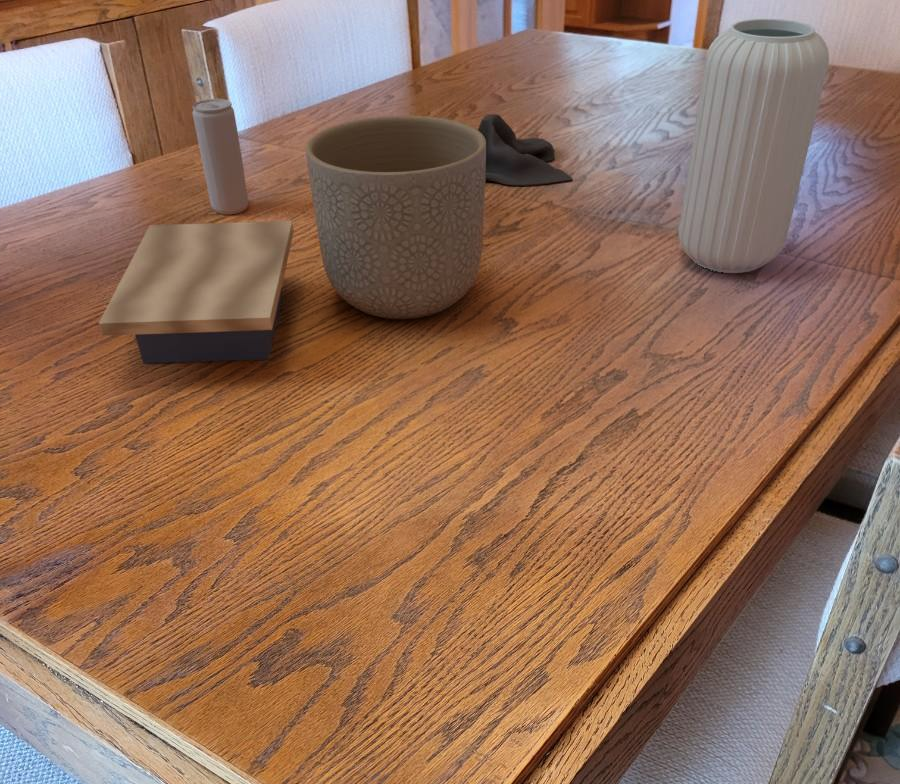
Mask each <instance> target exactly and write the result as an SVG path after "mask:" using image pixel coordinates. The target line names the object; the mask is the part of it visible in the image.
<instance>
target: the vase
mask: <svg viewBox="0 0 900 784" xmlns="http://www.w3.org/2000/svg"><path fill="white" fill-rule="evenodd" d="M829 63H830V53H829V48H828V45H827V43H826V41H825V40H824V38H823V37H822V35H820V34H819V33H818V32H816V29H815V27H814V26H812V25H811V24H808V23H804V22H801V21H798V20H789V19H780V18H756V19H755V18H754V19H753V18H752V19H746V20H745V19H744V20H740V21H737V22H734V23H733V24H731V25H730V27H729V28H727V29H725V30H724V31H722V32H721V33H719V34H718V36H716V37H715V38H714V40H713V41H712V42H711V44H710V45H709V47H708V48H707V52H706V55H705V58H704V64H703V70H702V76H701V77H702V78H701V84H700V90H699V96H698V104H697V110H696V116H695V122H694V129H693V134H692V142H691V148H690V154H689V160H688V167H687V173H686V179H685V185H684V186H685V187H684V193H683V201H682V204H681V211H680V219H679V224H678V231H677V236H678V237H677V238H678V242H679V245H680V247H681V249H682V251H683V252H684V253H685V254H686V256H688V258H690V259H691V260H692V261H693V262H694V263H695V264H696V263H697V264H696V265H698V266H699V265H700V266H699V267H701V266H702V267H701V268H703V267H704V269H705V268H708V269H710V270H709V271H712V270H713V271H712V272H716V271H717V273H721V272H723V273H722V274H743V273H749V272H752V271H755V270H757V269H760V268H761V267H763V266H765V265H767V264H769V263H770V262H772V261H773V260H774V259H776V258H777V257H778V256H779V254H780V253H781V252H782V250H783V249H784V247H785V245H786V242H787V239H788V234H789V230H790V226H791V223H792V218H793V215H794V210H795V206H796V201H797V197H798V193H799V189H800V186H801V185H800V184H801V180H802V177H803V172H804V168H805V165H806V164H805V163H806V160H807V156H808V151H809V147H810V143H811V139H812V135H813V131H814V127H815V123H816V119H817V114H818V110H819V106H820V102H821V97H822V93H823V89H824V84H825V81H826V76H827V73H828V68H829ZM708 269H707V270H708Z"/></svg>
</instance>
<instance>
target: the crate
mask: <svg viewBox="0 0 900 784" xmlns="http://www.w3.org/2000/svg"><path fill="white" fill-rule="evenodd" d="M283 296H284V291H283V287H282V288H281V292H280V297H279V301H278V306H277V310H276V315H275V319H274V324H273V328H272V330H252V331H223V332H194V333H166V334H137V335H134V336H135V339H136V343H137V347H138V351H139V353H140V357H141V361H142V364H167V363H168V364H169V363H171V364H172V363H197V362H199V363H200V362H201V363H202V362H225V361H226V362H227V361H229V362H230V361H251V360H252V361H254V360H257V361H258V360H269V359H270V357H271V351H272V348H273V347H272V346H273V342H274V338H275V333H276V328H277V324H278V320H279V315H280V309H281V305H282V301H283Z"/></svg>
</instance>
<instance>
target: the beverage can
mask: <svg viewBox="0 0 900 784" xmlns="http://www.w3.org/2000/svg"><path fill="white" fill-rule="evenodd" d="M192 109H193V111H192V118H193V122H194V128H195V133H196V138H197V144H198V147H199V153H200V157H201V163H202V168H203V173H204V178H205V184H206V189H207V193H208V198H209V204H210V206H211V209H212V210H213V211H214V212H215V213H217V214H218V215H225V216H227V215H237V214H241V213H243V212H245V211H246V210H247V208H248V207H249V204H250V201H249V196H248V190H247V183H246V176H245V169H244V162H243V157H242V149H241V144H240V138H239V132H238V127H237V120H236V114H235V110H234V107H233V106H232V102H231V101H230V100H228V99H223V98H210V99H203V100H199V101H197V102H195V103H193V104H192Z"/></svg>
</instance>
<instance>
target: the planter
mask: <svg viewBox="0 0 900 784" xmlns="http://www.w3.org/2000/svg"><path fill="white" fill-rule="evenodd" d="M305 157H306V165H307V170H308V171H307V172H308V177H309V178H308V179H309V187H310V192H311V198H312V205H313V210H314V217H315V224H316V230H317V236H318V242H319V250H320V254H321V259H322V263H323V268H324V272H325V274H326V277H327V279H328V282H329V283H330V286H331V287H332V288H333V289H334V290H335V292H336V293H337V295H338V296H340V297H341V298H342V299H343V300H344V301H345V302H346V303H348V304H349V305H351V306H352V307H353V308H355V309H357V310H359V311H361V312H362V313H365V314H367V315H370V316H372V317H377V318H382V319H388V320H415V319H420V318H426V317H429V316H433V315H435V314H438V313H441V312H443V311H445V310H447V309H448V308H450V307H451V306H453V305H454V304H456V303H457V302H458V301H460V300H461V299H462V298H463V297H464V296H465V295H466V293H468V291H469V290H470V289H471V287H472V286H473V284H474V282H475V281H476V279H477V277H478V274H479V271H480V267H481V262H482V255H483V245H484V217H485V216H484V215H485V201H486V200H485V199H486V198H485V197H486V181H485V177H486V140H485V138H484V136H483V135H482V134H481V133H480V132H479V131H478V129H477V128H475V127H473V126H471V125H468V124H466V123H463V122H461V121H457V120H453V119H449V118H443V117H436V116H428V115H427V116H425V115H385V116H373V117H365V118H360V119H355V120H350V121H346V122H342V123H339V124H335V125H332V126H330V127H327V128H325V129H323V130H321V131H319V132H318V133H316V134H314V135H313V136H312V137H310V139H309V140H308V141H307V143H306V146H305Z"/></svg>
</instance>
